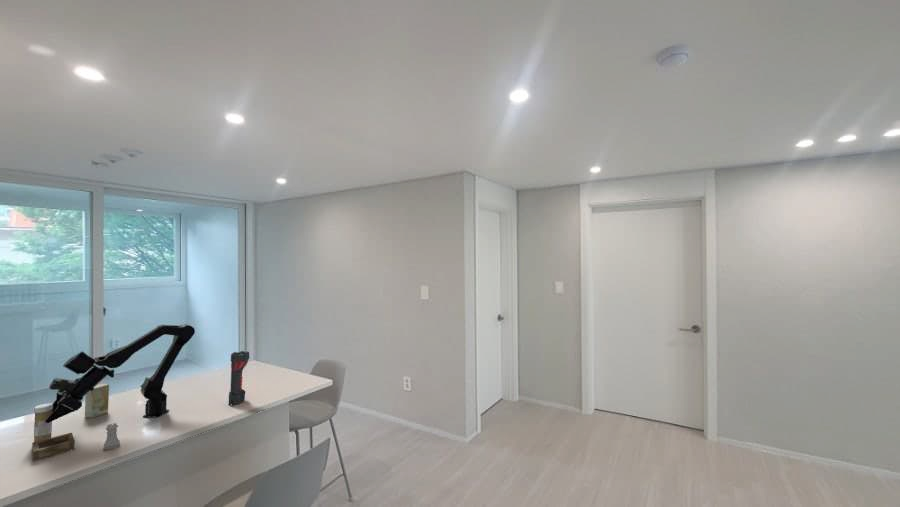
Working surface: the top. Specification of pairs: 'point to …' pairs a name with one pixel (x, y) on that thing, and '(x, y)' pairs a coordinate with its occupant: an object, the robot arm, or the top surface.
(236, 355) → the flashlight
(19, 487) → the top surface
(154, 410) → the robot arm
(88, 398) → the skincare box
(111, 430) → the rook chess piece
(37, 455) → the walnut holder
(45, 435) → the sprinkles bottle
